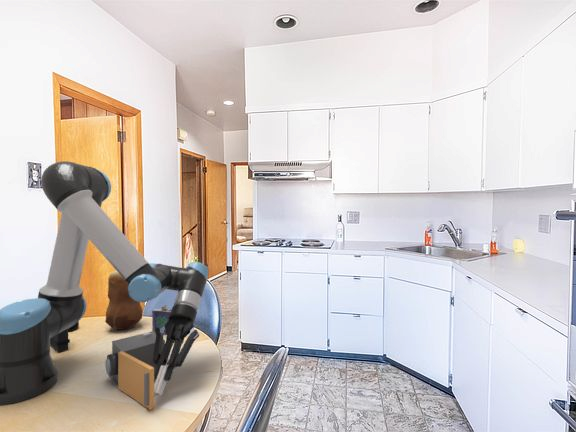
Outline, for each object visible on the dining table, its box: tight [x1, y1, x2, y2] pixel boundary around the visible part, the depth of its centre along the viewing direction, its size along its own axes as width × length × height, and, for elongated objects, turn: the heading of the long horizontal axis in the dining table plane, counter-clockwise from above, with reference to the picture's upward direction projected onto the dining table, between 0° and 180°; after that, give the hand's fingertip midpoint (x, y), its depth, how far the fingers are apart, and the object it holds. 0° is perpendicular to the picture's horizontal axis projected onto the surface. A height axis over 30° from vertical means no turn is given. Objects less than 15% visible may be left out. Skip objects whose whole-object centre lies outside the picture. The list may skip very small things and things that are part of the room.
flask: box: [151, 304, 172, 336], centre depth 125 cm, size 10×3×12 cm, turn 76°
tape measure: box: [68, 320, 80, 332], centre depth 128 cm, size 7×7×4 cm
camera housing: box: [104, 330, 166, 383], centre depth 93 cm, size 14×10×11 cm
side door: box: [117, 351, 155, 410], centre depth 81 cm, size 16×2×10 cm, turn 54°
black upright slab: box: [50, 329, 71, 353], centre depth 112 cm, size 4×13×15 cm, turn 50°
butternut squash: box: [104, 269, 143, 330], centre depth 131 cm, size 14×13×25 cm
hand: (156, 394), depth 79 cm, fingers closed
